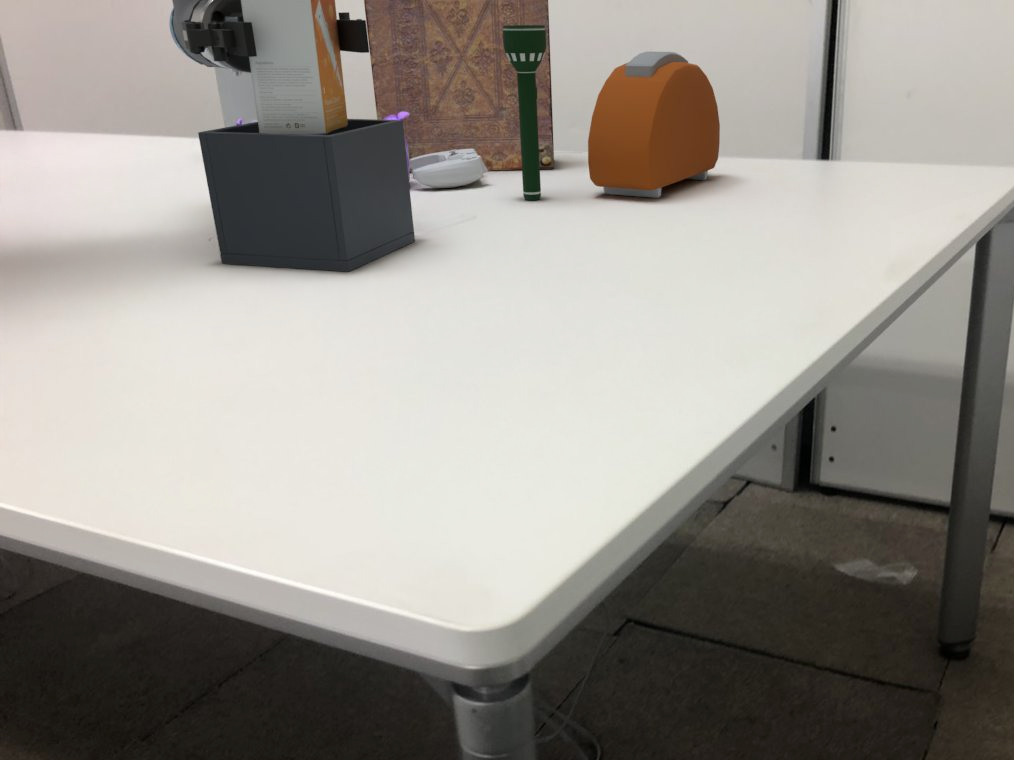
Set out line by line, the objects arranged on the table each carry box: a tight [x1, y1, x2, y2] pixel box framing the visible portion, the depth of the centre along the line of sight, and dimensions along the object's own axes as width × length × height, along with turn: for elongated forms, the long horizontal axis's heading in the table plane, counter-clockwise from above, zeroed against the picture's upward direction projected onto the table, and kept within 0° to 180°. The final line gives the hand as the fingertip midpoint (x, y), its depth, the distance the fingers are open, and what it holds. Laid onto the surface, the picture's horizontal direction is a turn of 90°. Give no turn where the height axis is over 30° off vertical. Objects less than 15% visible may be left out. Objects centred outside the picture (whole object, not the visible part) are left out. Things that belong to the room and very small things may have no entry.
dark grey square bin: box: [197, 118, 416, 273], centre depth 99 cm, size 14×14×12 cm
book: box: [363, 0, 555, 173], centre depth 147 cm, size 25×9×30 cm, turn 96°
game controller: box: [409, 148, 489, 189], centre depth 139 cm, size 14×4×10 cm
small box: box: [241, 0, 348, 135], centre depth 93 cm, size 8×6×13 cm
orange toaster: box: [587, 50, 721, 199], centre depth 132 cm, size 23×9×17 cm, turn 154°
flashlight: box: [503, 25, 546, 201], centre depth 123 cm, size 5×5×20 cm
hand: (308, 38), depth 90 cm, fingers closed on small box, 9 cm apart
